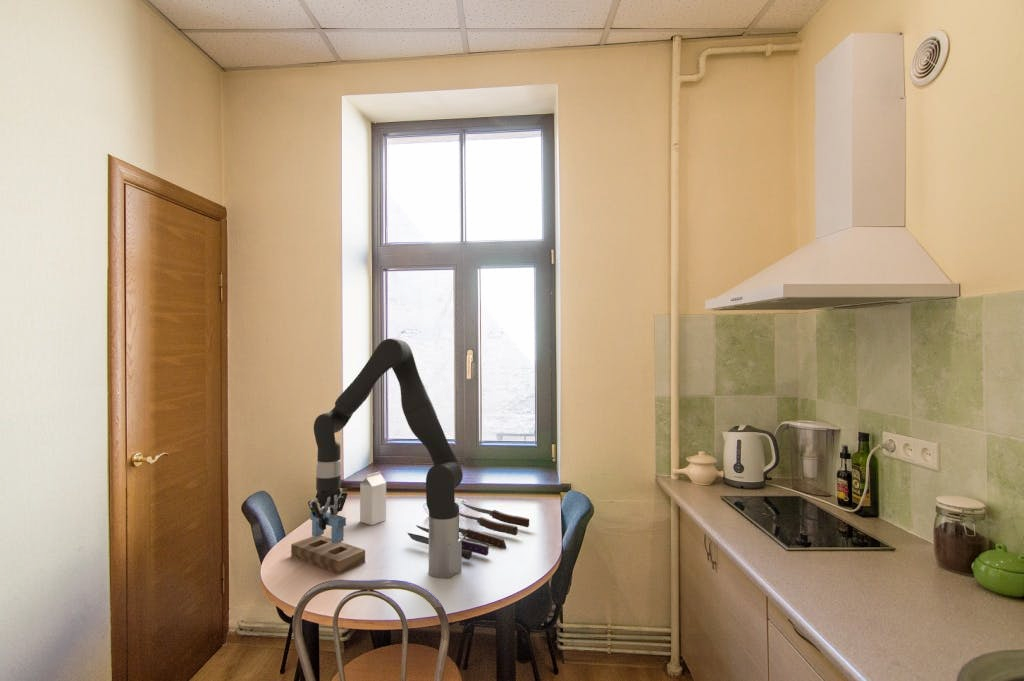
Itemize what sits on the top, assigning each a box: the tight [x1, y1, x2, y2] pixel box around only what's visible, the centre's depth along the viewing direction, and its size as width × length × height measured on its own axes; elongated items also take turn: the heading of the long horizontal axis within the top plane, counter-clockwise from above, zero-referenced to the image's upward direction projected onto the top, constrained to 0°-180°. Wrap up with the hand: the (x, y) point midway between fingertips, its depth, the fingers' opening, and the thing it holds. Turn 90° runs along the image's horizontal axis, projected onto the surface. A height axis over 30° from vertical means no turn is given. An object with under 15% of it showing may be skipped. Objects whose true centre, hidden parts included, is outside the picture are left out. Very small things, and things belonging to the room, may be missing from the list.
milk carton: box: [359, 470, 387, 526], centre depth 191 cm, size 7×7×19 cm
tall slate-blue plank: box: [309, 511, 347, 544], centre depth 156 cm, size 14×3×8 cm, turn 57°
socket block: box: [290, 534, 366, 575], centre depth 156 cm, size 24×10×4 cm, turn 57°
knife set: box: [407, 501, 530, 560], centre depth 174 cm, size 35×33×8 cm
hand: (327, 527), depth 156 cm, fingers closed on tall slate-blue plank, 3 cm apart
